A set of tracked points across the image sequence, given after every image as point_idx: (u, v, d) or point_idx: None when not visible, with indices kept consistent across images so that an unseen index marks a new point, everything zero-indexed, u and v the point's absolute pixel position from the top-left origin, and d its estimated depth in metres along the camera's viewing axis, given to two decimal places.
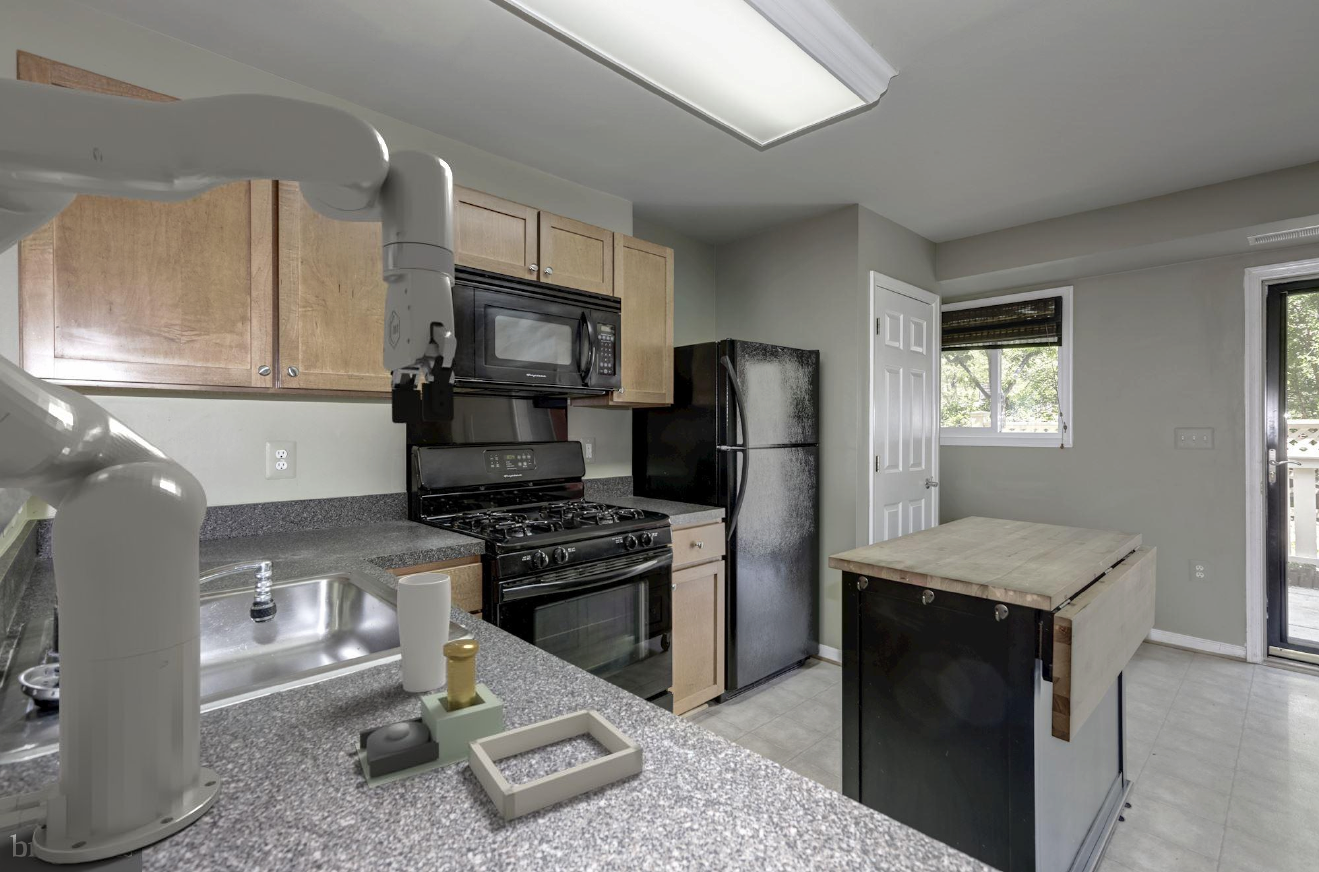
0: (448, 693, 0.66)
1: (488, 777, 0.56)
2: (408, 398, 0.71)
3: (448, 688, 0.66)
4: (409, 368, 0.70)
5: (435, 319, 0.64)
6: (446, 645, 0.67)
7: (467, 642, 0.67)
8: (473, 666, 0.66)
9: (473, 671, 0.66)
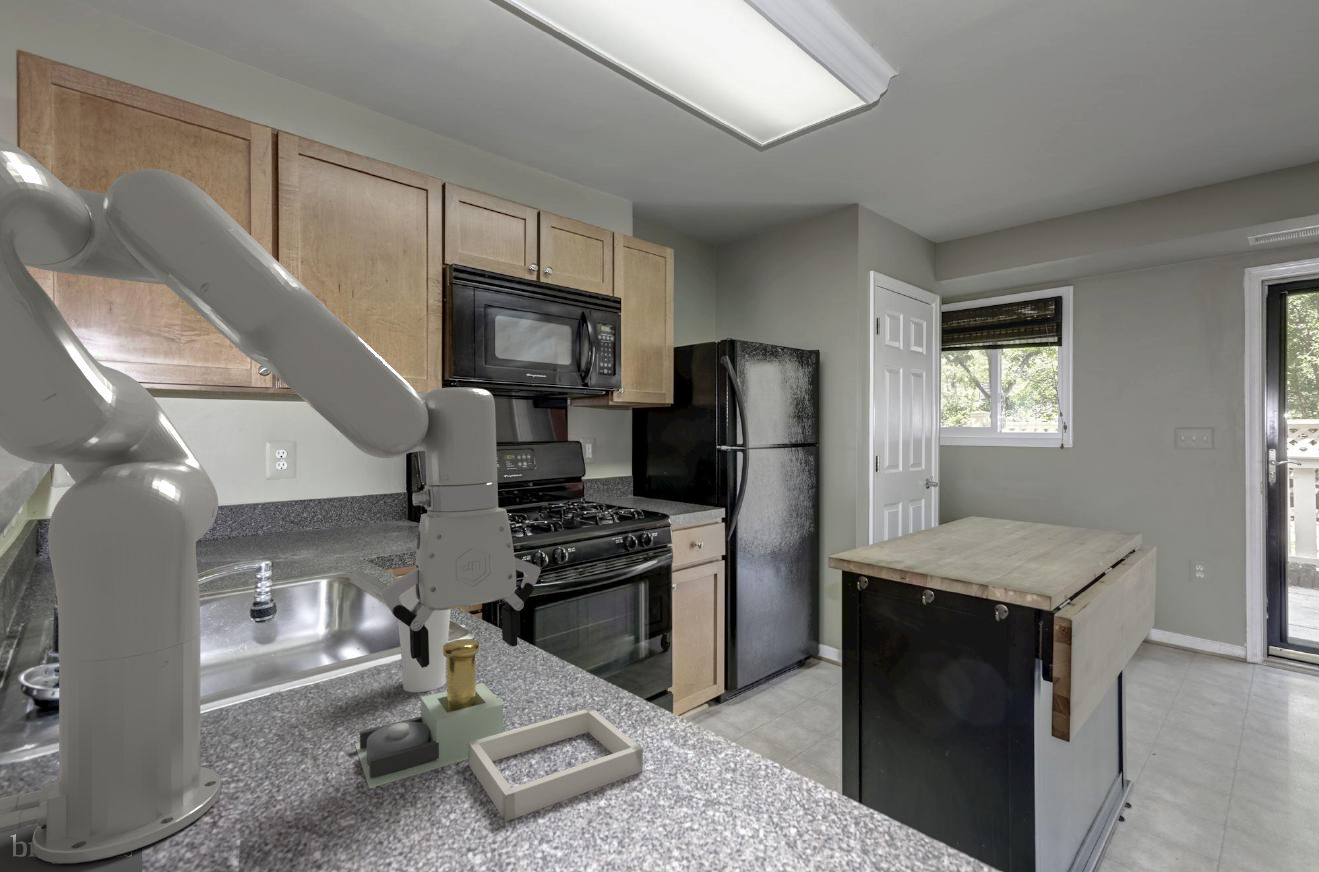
0: (448, 693, 0.66)
1: (488, 777, 0.56)
2: None
3: (448, 688, 0.66)
4: None
5: None
6: (446, 645, 0.67)
7: (467, 642, 0.67)
8: (473, 666, 0.66)
9: (473, 671, 0.66)
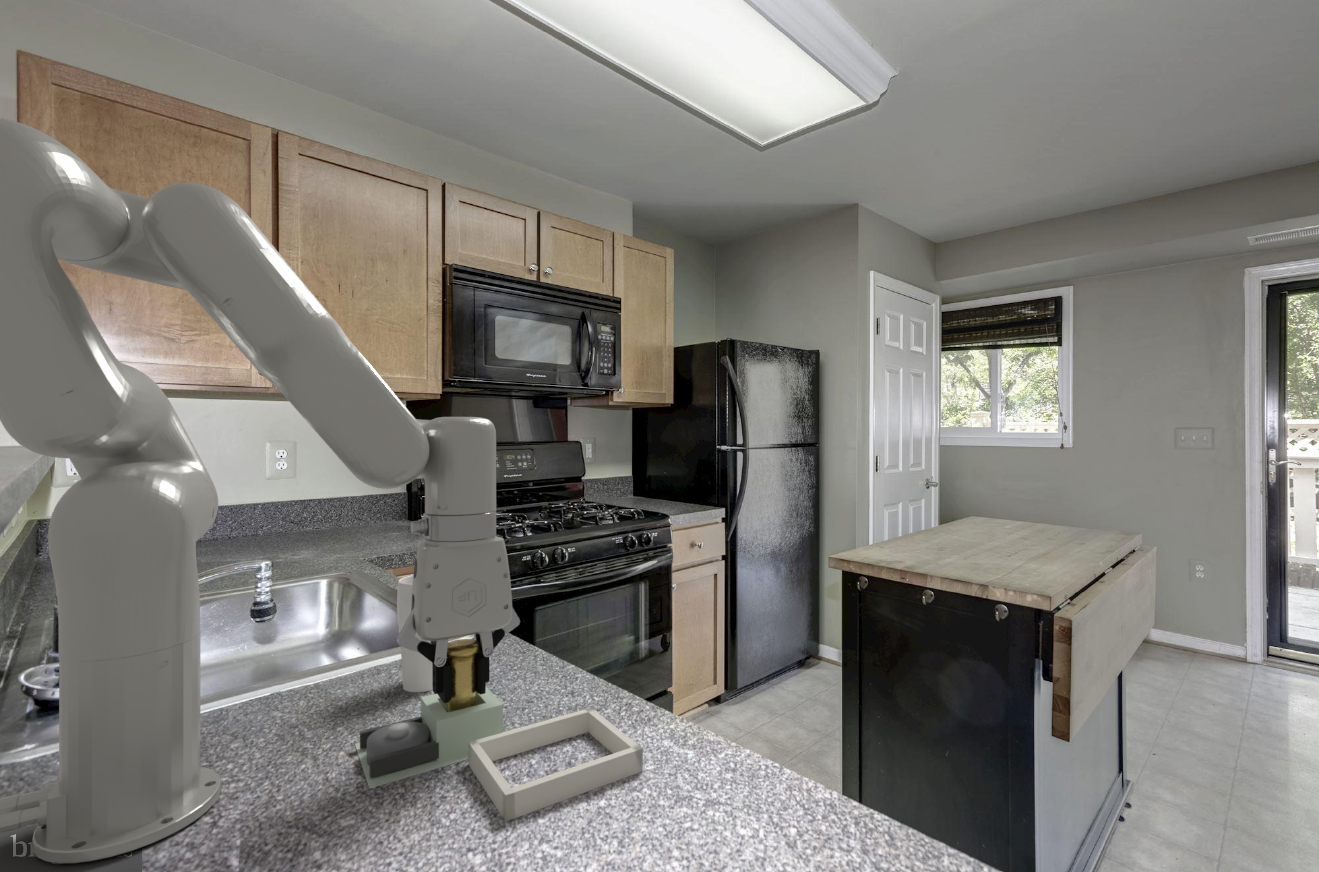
0: None
1: (488, 777, 0.56)
2: None
3: None
4: None
5: None
6: None
7: (467, 642, 0.67)
8: (473, 666, 0.66)
9: (473, 671, 0.66)
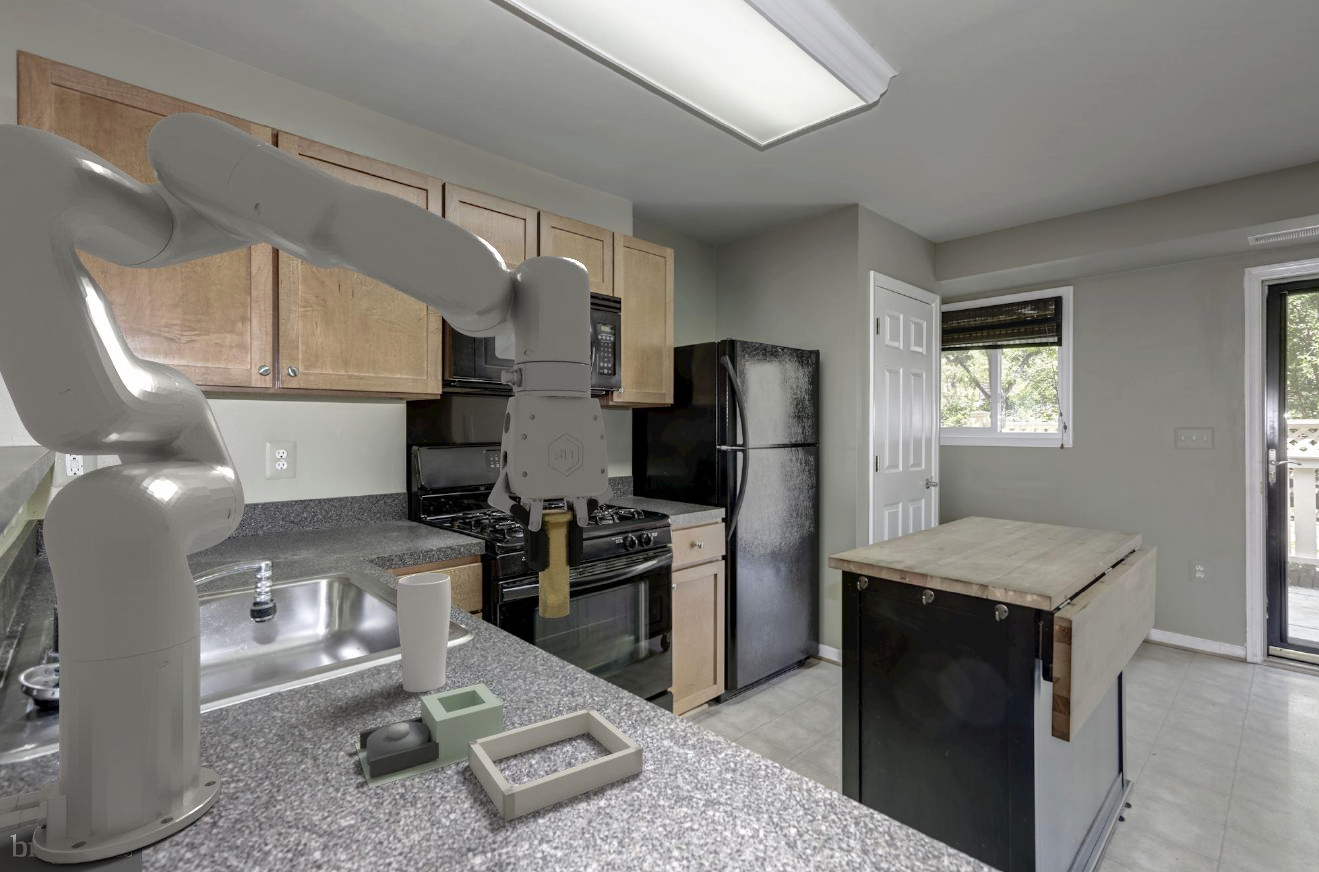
0: None
1: (488, 777, 0.56)
2: None
3: None
4: None
5: None
6: None
7: (559, 511, 0.61)
8: (567, 535, 0.60)
9: (567, 540, 0.60)
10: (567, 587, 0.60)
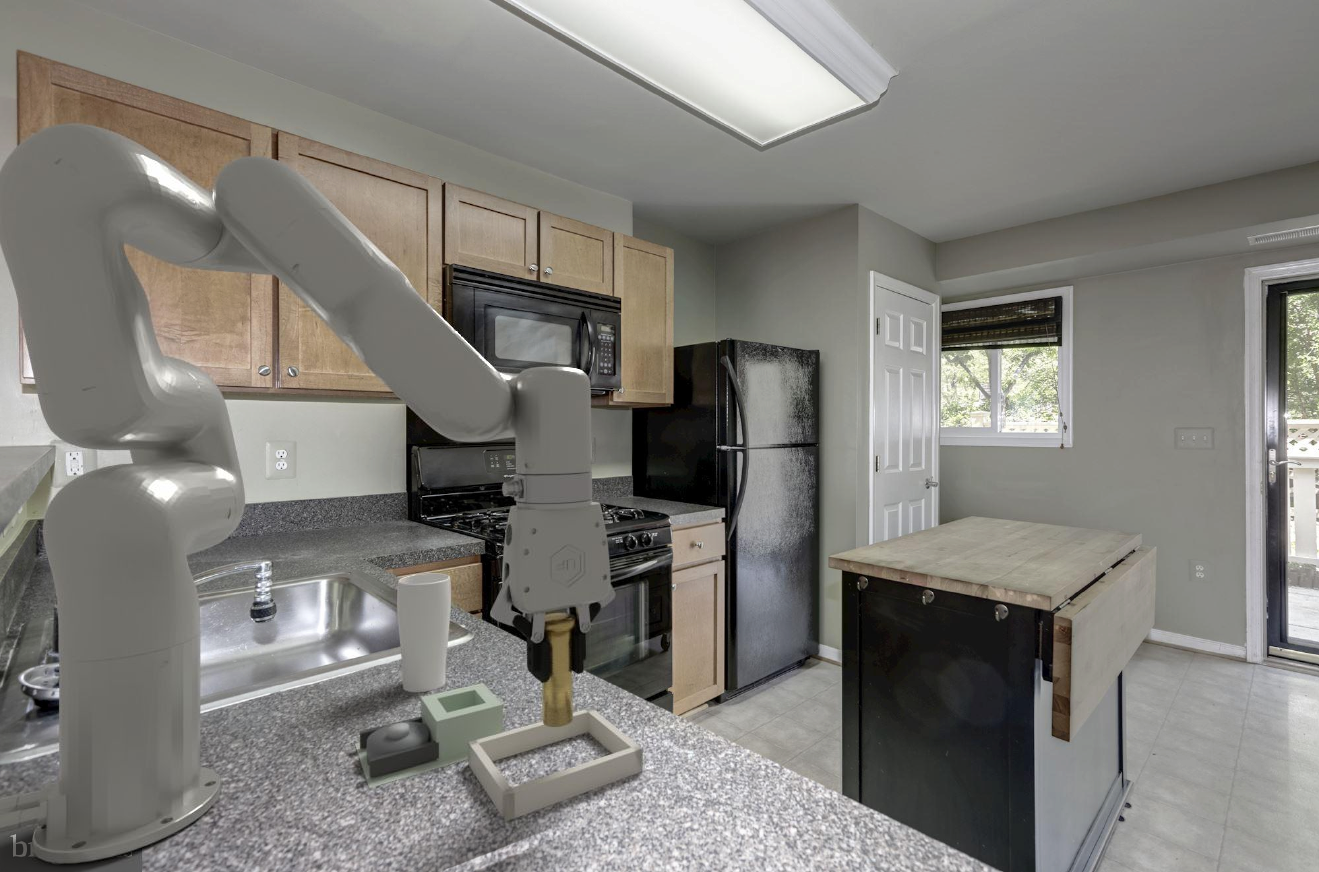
0: None
1: (488, 777, 0.56)
2: None
3: None
4: None
5: None
6: None
7: (562, 616, 0.61)
8: (570, 642, 0.60)
9: (570, 647, 0.60)
10: (571, 694, 0.60)
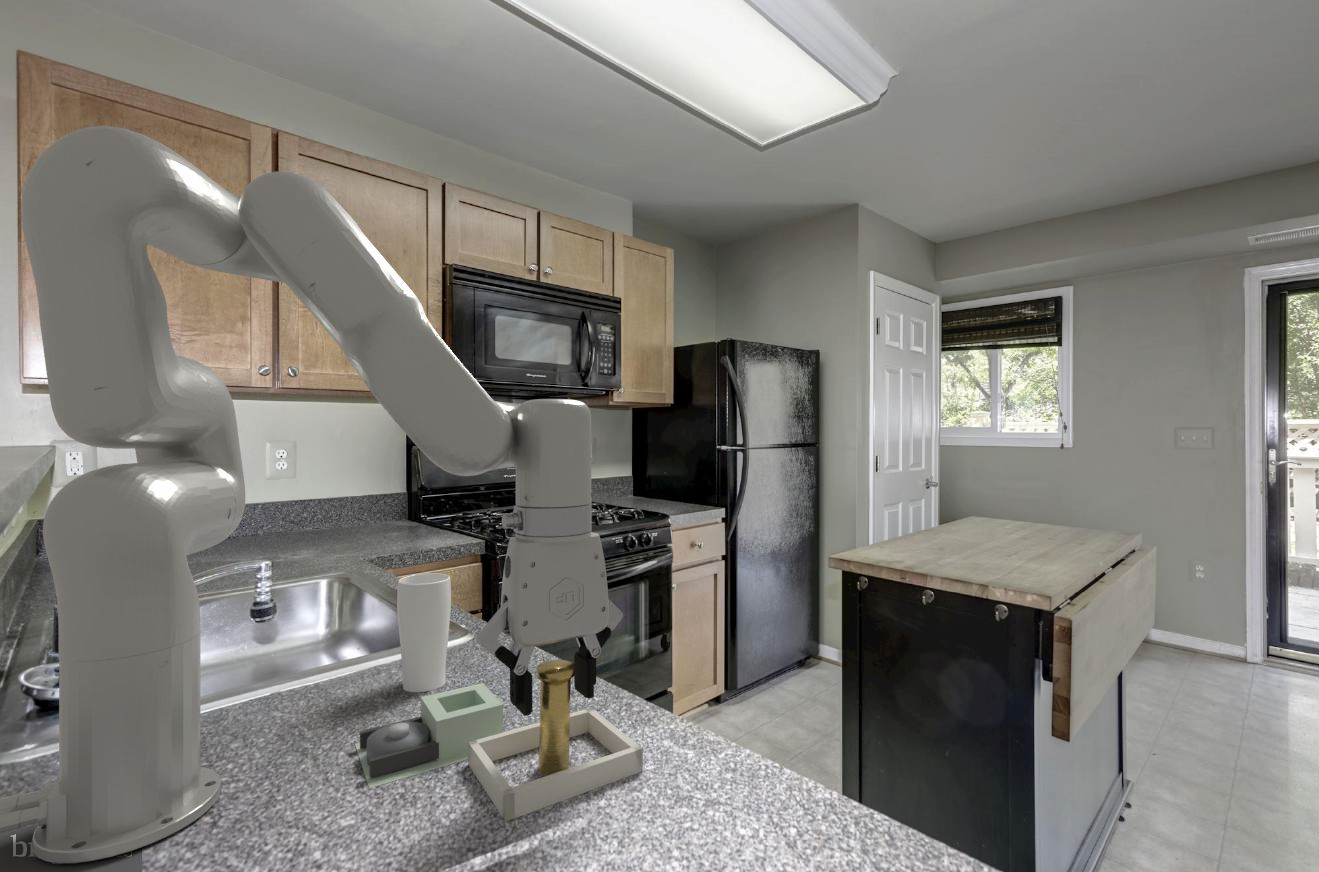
0: (542, 720, 0.60)
1: (488, 777, 0.56)
2: None
3: (542, 715, 0.60)
4: None
5: None
6: (539, 667, 0.60)
7: (561, 664, 0.61)
8: (569, 691, 0.60)
9: (569, 696, 0.60)
10: (568, 743, 0.60)
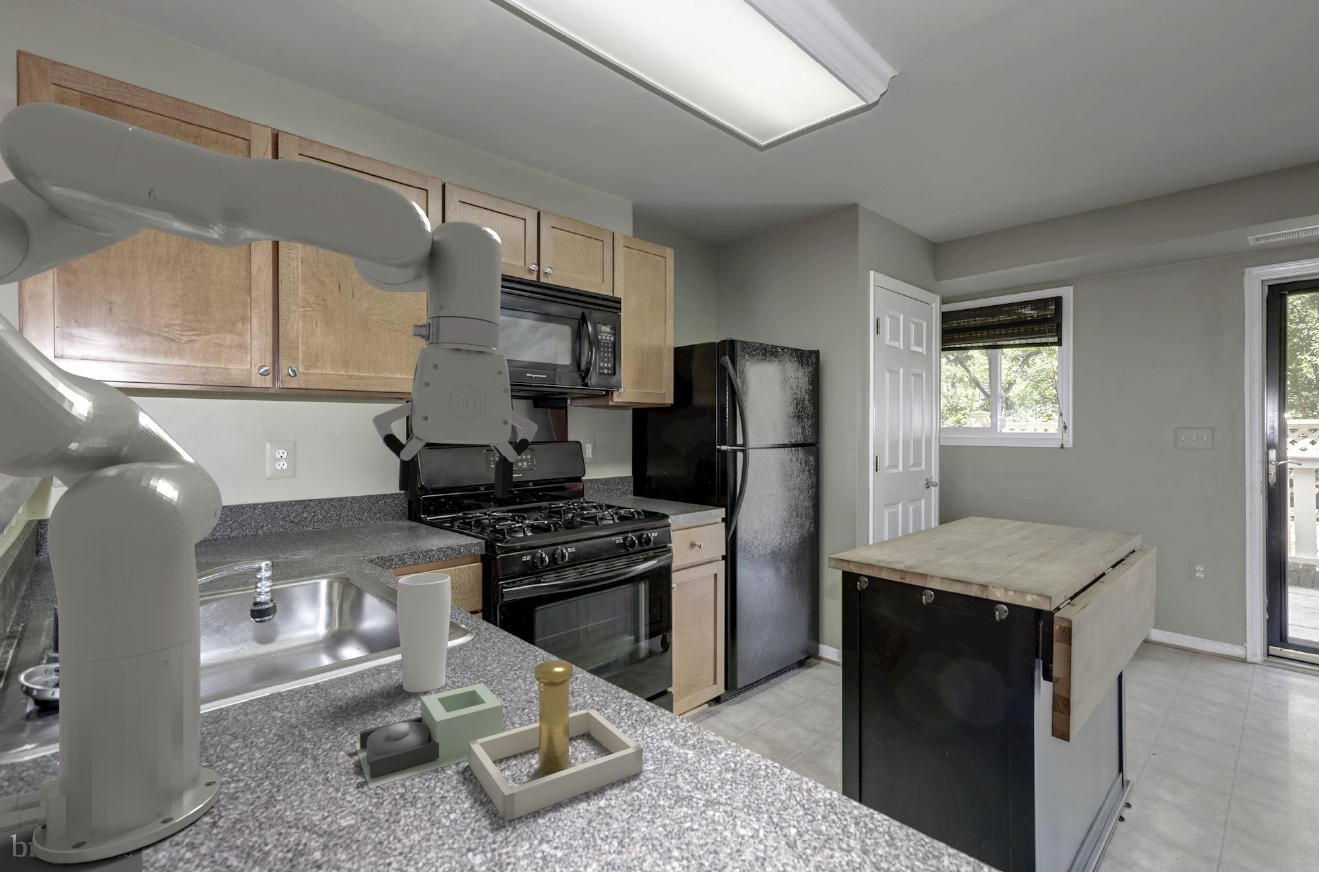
0: (541, 721, 0.59)
1: (488, 777, 0.56)
2: None
3: (541, 716, 0.59)
4: None
5: None
6: (537, 668, 0.60)
7: (559, 664, 0.61)
8: (567, 691, 0.60)
9: (567, 697, 0.60)
10: (567, 744, 0.60)
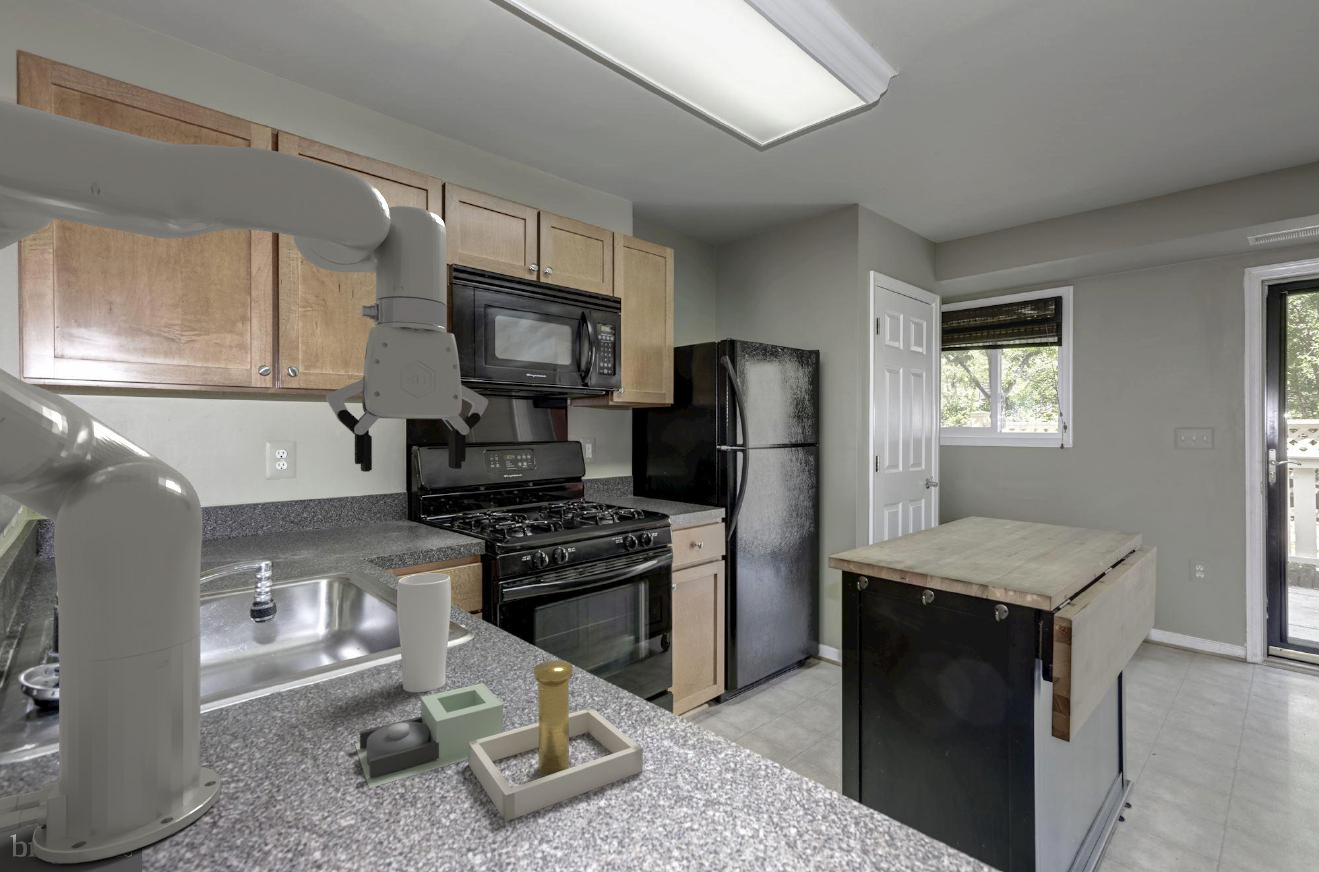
0: (541, 721, 0.59)
1: (488, 777, 0.56)
2: None
3: (541, 716, 0.59)
4: None
5: None
6: (537, 668, 0.60)
7: (559, 664, 0.61)
8: (567, 691, 0.60)
9: (567, 697, 0.60)
10: (567, 744, 0.60)
